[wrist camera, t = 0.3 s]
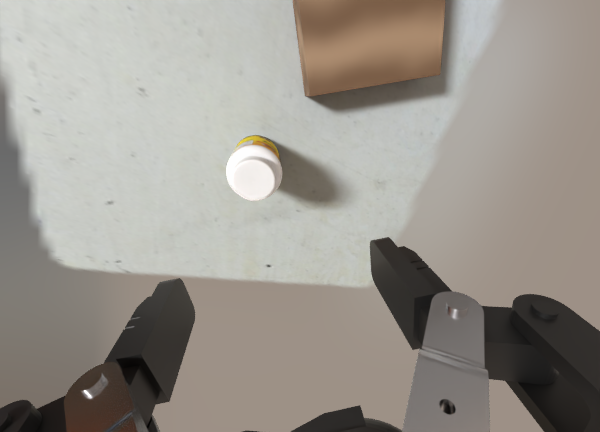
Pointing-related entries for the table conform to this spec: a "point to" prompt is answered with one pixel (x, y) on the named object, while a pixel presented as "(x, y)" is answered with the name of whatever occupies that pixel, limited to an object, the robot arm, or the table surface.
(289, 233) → the table surface
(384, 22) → the walnut plinth
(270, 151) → the supplement bottle
